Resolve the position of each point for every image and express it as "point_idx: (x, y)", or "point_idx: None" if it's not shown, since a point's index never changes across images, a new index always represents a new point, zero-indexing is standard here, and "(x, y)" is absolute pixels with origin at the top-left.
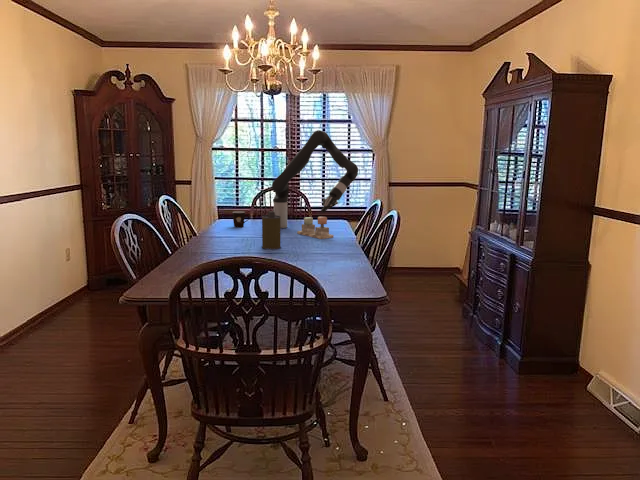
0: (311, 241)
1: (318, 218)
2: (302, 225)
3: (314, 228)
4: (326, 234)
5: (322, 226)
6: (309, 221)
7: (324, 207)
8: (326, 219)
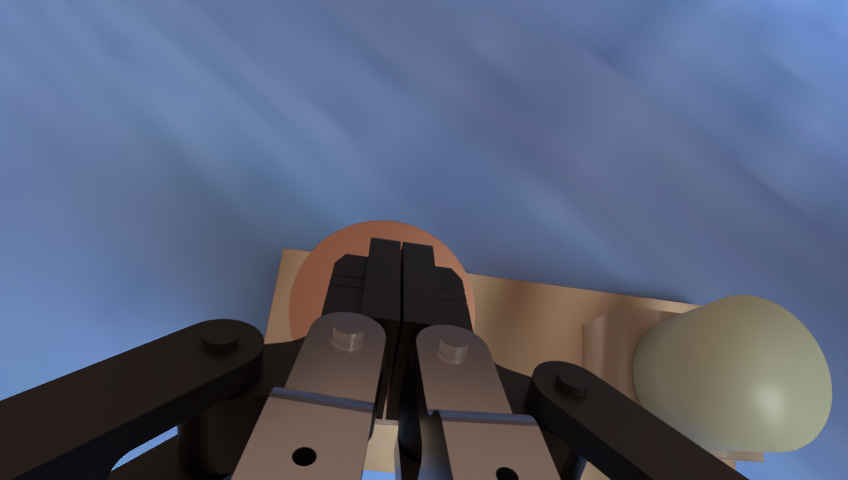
0: (271, 107)
1: (401, 229)
2: None
3: None
4: None
5: None
6: (664, 339)
7: (373, 288)
8: None
